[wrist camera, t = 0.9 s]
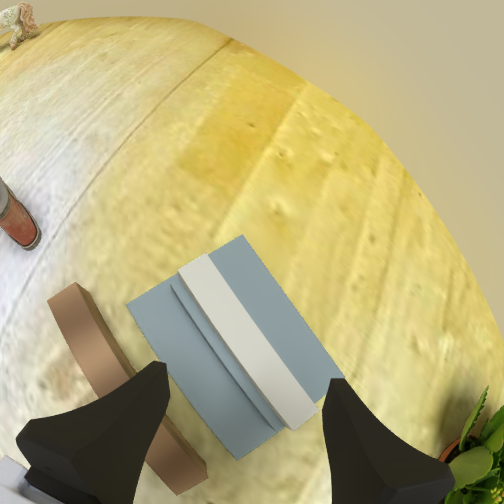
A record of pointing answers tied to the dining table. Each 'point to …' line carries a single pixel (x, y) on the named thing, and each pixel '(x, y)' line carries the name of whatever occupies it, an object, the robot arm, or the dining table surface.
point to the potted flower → (477, 461)
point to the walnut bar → (114, 375)
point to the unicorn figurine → (18, 21)
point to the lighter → (18, 220)
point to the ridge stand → (236, 346)
